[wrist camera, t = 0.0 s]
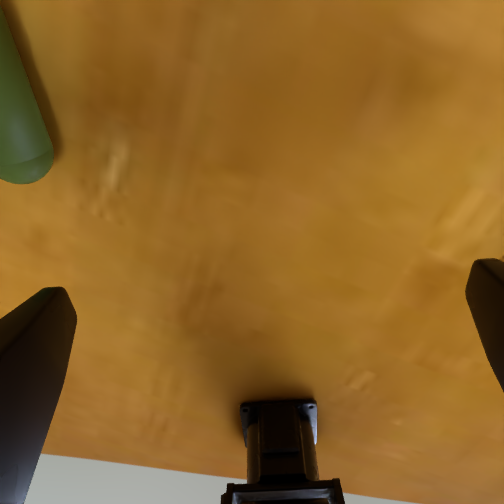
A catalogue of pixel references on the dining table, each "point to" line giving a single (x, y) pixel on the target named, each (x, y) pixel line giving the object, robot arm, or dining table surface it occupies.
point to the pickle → (20, 119)
